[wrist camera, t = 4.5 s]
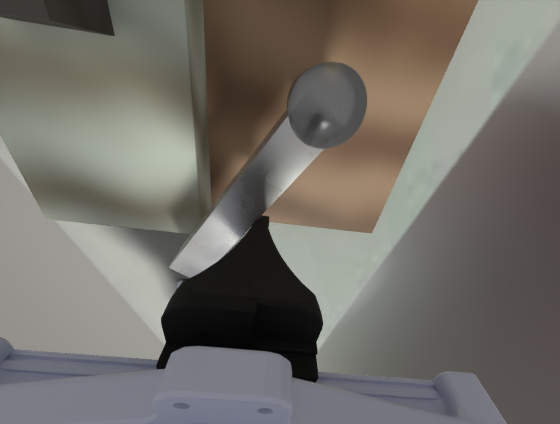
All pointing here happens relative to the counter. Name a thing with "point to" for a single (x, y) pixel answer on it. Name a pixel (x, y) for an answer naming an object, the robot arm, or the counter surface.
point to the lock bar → (279, 159)
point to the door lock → (209, 101)
